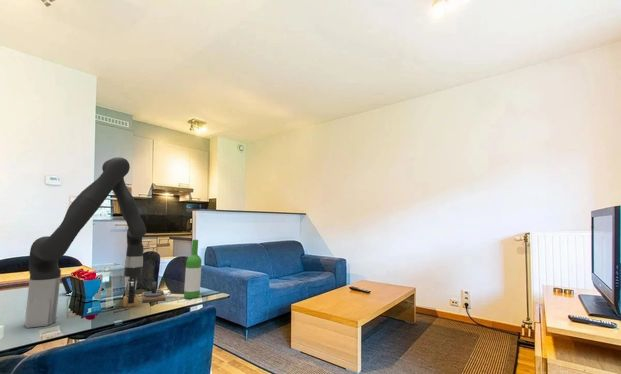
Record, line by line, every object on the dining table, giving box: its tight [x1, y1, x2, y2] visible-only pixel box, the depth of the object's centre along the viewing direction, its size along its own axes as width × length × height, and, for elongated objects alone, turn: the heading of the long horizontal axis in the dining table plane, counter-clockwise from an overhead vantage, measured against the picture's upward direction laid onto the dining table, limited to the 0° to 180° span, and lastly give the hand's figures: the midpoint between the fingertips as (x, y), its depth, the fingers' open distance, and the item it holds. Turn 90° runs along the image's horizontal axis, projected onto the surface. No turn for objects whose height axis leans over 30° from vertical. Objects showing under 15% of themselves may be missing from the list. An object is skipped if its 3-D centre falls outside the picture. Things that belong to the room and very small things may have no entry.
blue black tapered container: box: [60, 275, 105, 295], centre depth 165 cm, size 16×13×9 cm
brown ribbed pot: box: [122, 294, 139, 308], centre depth 146 cm, size 6×6×4 cm
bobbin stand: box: [141, 281, 166, 304], centre depth 159 cm, size 16×10×8 cm, turn 29°
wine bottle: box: [183, 239, 202, 299], centre depth 164 cm, size 8×8×30 cm
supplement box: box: [93, 272, 104, 299], centre depth 152 cm, size 7×7×13 cm
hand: (130, 301), depth 146 cm, fingers closed on brown ribbed pot, 6 cm apart
